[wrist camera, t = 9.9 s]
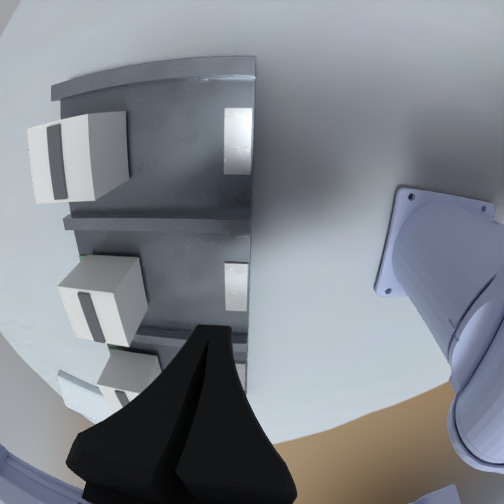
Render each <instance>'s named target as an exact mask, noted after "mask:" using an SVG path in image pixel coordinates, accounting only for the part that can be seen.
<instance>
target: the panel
mask: <svg viewBox="0 0 504 504" xmlns="http://www.w3.org/2000/svg"><path fill="white" fill-rule="evenodd" d="M255 82H256V58H255V57H250V56H229V57H202V58H188V59H177V60H168V61H159V62H152V63H145V64H139V65H133V66H127V67H122V68H117V69H112V70H107V71H103V72H99V73H94V74H90V75H86V76H83V77H79V78H75V79H72V80H68V81H65V82H62V83H58V84H55V85H52V86H51V101H61V120H62V119H66V118H71V117H75V116H80V115H85V114H92V113H104V112H118V111H126V135H127V156H128V170H129V180H128V181H126V182H124V183H123V184H121V185H119V186H118V187H116V188H114V189H113V190H111V191H110V192H108V193H106V194H105V195H103V196H102V197H100V198H98V199H97V200H95V201H78V202H69V205H70V211H71V214H69V215H68V216H66V217H65V218H63V222H64V227H65V230H74V232H75V237H76V241H77V246H78V250H79V254H80V256H79V257H80V261H82V260H83V259H84V258H85V257H86V256H87V255H104V256H123V257H139V261H140V267H141V273H142V279H143V284H144V289H145V294H146V299H147V304H148V309H147V311H146V313H145V315H144V317H143V319H142V321H141V323H140V325H139V328H138V330H137V332H136V334H135V336H134V338H133V340H132V342H131V344H130V346H129V347H126V346H119V345H113V344H108V343H107V345H108V348H109V352H110V354H112V352H113V350H114V349H115V350H121V351H127V352H133V353H140V354H147V355H154V356H157V358H158V361H159V365H160V368H161V372H162V371H163V370H164V369H165V368H166V366H167V365H168V364H169V363H170V362H171V361H172V359H173V358H174V357H175V356H176V354H177V353H178V352H179V350H180V349H181V348H182V346H183V345H184V344H185V342H186V341H187V339H188V338H189V336H190V335H191V333H192V332H193V330H194V329H195V327H196V326H197V325H198V324H204V325H223V326H230V327H231V328H232V341H233V356H234V361H235V365H236V369H237V372H238V375H239V378H240V381H241V384H242V387H243V390H244V392H245V395H246V387H247V351H248V315H249V280H250V246H251V212H252V179H253V146H254V114H255Z"/></svg>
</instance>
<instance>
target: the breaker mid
mask: <svg viewBox="0 0 504 504" xmlns="http://www.w3.org/2000/svg"><path fill="white" fill-rule="evenodd" d="M58 289H59V292H60V295H61V298H62V301H63V304H64V306H65V309H66V312H67V314H68V317H69V320H70V322H71V325H72V327H73V329H74V332H75V334H76V337H77V338H82V339H87V340H92V341H96V342H101V343H108V344H113V345H119V346H126V347H129V346H130V344H131V342H132V340H133V338H134V336H135V334H136V332H137V330H138V328H139V325H140V323H141V321H142V319H143V317H144V315H145V313H146V311H147V309H148V304H147V299H146V294H145V289H144V284H143V279H142V273H141V267H140V261H139V257H123V256H104V255H87V256H86V257H85V258H84V259H83V260H82V261H81V262H80V263H79V264H78V265H77V266H76V267H75V268H74V269H73V270H72V271H71V272H70V273H69V275H68V276H67V277H66V278H65V279H64V280H63V281H62V282H61V283H60V284H59V285H58Z"/></svg>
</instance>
